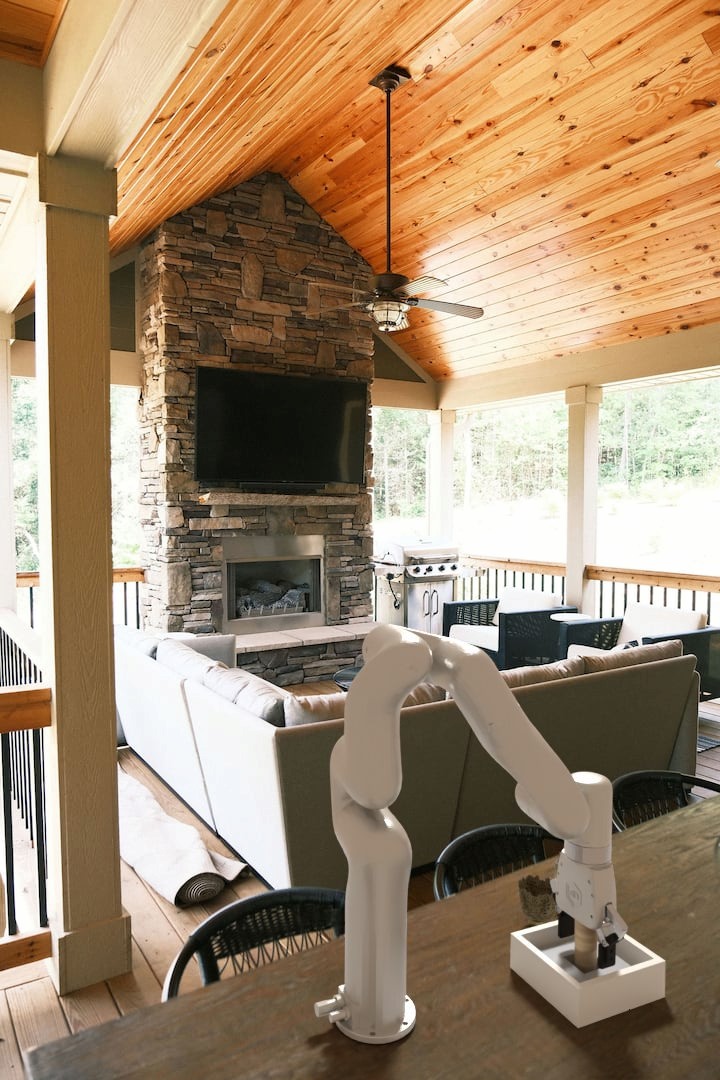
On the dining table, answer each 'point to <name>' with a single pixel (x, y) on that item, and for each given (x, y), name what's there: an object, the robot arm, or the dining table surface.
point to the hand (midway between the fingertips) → (585, 950)
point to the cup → (536, 899)
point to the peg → (585, 948)
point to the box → (586, 974)
